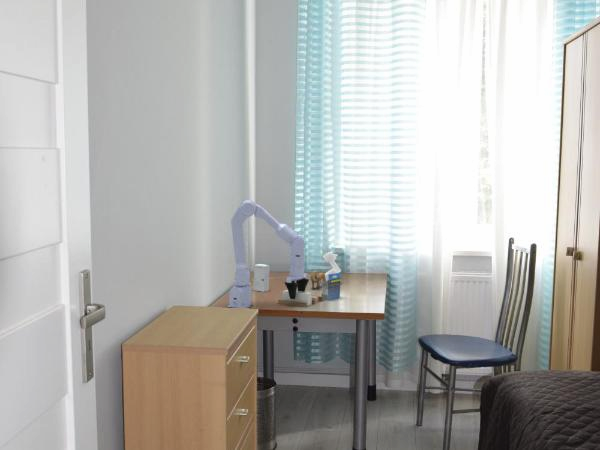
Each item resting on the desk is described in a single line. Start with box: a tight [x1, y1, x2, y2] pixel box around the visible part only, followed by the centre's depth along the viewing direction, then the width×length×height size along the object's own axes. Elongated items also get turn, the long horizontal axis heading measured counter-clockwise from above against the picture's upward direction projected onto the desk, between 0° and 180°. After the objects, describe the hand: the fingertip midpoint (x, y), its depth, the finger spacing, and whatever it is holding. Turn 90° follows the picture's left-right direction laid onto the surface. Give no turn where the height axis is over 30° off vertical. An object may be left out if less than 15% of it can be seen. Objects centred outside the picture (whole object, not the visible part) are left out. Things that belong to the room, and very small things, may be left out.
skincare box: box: [253, 263, 270, 293], centre depth 335 cm, size 6×4×12 cm
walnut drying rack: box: [276, 295, 326, 308], centre depth 305 cm, size 17×14×3 cm
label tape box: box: [320, 272, 342, 301], centre depth 313 cm, size 9×4×12 cm, turn 141°
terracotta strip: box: [312, 295, 318, 302], centre depth 308 cm, size 3×11×2 cm, turn 61°
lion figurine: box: [309, 270, 326, 290], centre depth 345 cm, size 15×5×9 cm, turn 160°
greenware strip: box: [282, 289, 313, 307], centre depth 301 cm, size 4×12×5 cm, turn 61°
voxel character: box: [322, 251, 342, 283], centre depth 356 cm, size 7×12×15 cm
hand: (296, 297), depth 301 cm, fingers open, 7 cm apart
